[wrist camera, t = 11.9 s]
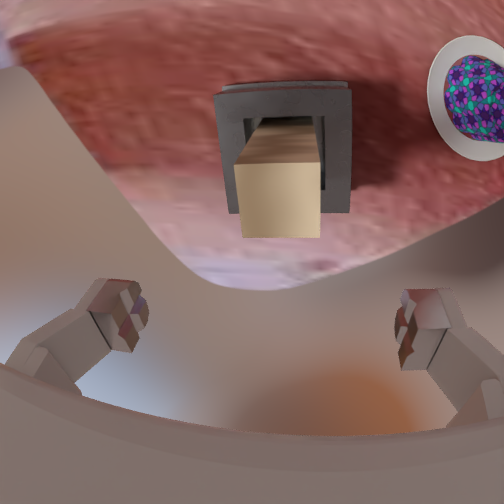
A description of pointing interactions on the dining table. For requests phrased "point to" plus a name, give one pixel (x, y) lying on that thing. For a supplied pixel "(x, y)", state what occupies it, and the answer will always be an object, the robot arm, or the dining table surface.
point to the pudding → (469, 97)
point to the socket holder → (290, 105)
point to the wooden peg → (280, 180)
